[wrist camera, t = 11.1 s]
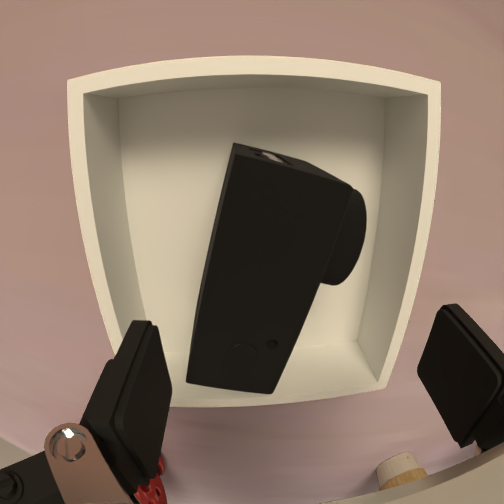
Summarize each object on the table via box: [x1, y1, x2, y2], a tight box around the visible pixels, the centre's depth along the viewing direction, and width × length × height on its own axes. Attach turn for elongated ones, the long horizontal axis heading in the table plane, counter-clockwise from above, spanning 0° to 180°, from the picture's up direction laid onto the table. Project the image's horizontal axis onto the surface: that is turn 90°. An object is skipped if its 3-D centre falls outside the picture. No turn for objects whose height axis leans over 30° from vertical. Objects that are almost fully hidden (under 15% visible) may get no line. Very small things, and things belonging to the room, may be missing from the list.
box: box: [67, 56, 441, 407], centre depth 16 cm, size 17×19×6 cm
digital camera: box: [186, 142, 367, 394], centre depth 15 cm, size 10×5×7 cm, turn 166°
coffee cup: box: [376, 452, 428, 491], centre depth 28 cm, size 10×10×15 cm
